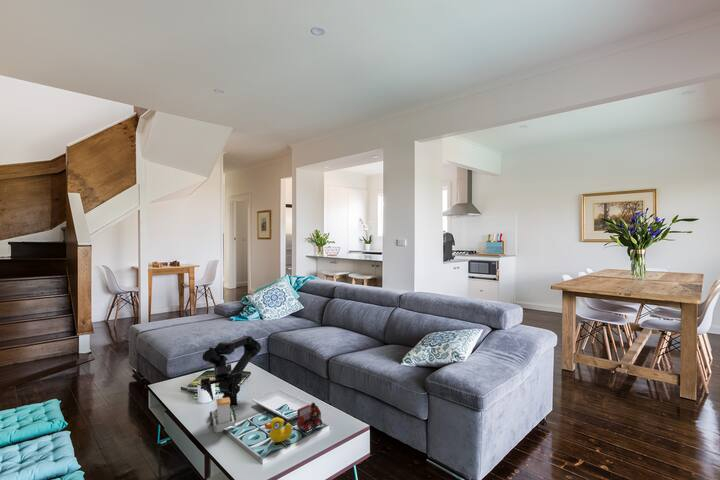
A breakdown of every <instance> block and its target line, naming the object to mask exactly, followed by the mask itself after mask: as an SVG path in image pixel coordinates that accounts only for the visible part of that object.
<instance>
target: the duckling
mask: <svg viewBox="0 0 720 480" xmlns="http://www.w3.org/2000/svg"><path fill="white" fill-rule="evenodd" d="M284 425H285V426H284ZM283 426H284V427H283ZM264 428H265V429H266V430H269V431H270V432H269V438H270V440H271V441H272V442H274V443H277V442H278V443H280V442H284V441H286V440H288V439H289V438H290V437H291V435H292V432H293V430H292V429H293V427H292V424H290V423H289V422H288V423H286V424H285V420H284V418H281V417H273V418H272V419H271V420H270V421H269V423H266V422H265V423H264Z"/></svg>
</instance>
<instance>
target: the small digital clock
mask: <svg viewBox="0 0 720 480" xmlns="http://www.w3.org/2000/svg"><path fill="white" fill-rule="evenodd" d="M236 416H237V415H236V411H235V406H231V407H230V422H228V423H224V424H219V425H218V412H217V410H213V411H209V419H210V425H213V429H214V434H216V433H220V432H224V431H223V430H224V428H227V427H229V426H235V427H236V424H235V420H236V419H237V417H236Z"/></svg>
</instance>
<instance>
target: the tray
mask: <svg viewBox="0 0 720 480" xmlns="http://www.w3.org/2000/svg"><path fill="white" fill-rule="evenodd" d="M251 400H252V402H254V403H255V404H257V405H259V406H261V407H262V408H265V409H266V410H268V411H270V412H272V413H274V414H276V415H278V416H280V418H281V417H282V419H285V420H287V421H291V420H293V419H295V418H297V417H296V416H298V415H297V414H296V415H294V416H291V417H287V416H285V415H284V414H281V413H280V412H279V411H276V410H274V409H275V408H277V407H279V406H282V405H284V404H287V405H288V407H289V409H293V410H298V409H300V408H302V407H304V406H307V405H311V402H309V401H306V400H304V399H302V398H300V397H298V396H295V395H293V394H291V393H289V392H287V391H284V390H282V389H280V388H277V389H275V390H272V391H269V392H267V393H264V394H263V395H260V396H256V397H255V398H253V399H251ZM294 417H295V418H294ZM292 418H293V419H292ZM290 419H291V420H290Z"/></svg>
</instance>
